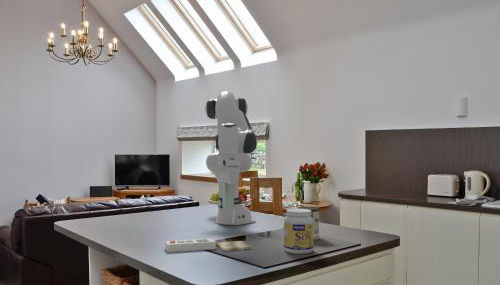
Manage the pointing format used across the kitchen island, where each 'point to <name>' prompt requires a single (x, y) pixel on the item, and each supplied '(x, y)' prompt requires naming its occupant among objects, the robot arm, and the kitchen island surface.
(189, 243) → the power strip
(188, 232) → the kitchen island surface
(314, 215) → the coffee can
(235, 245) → the coaster
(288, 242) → the supplement tub
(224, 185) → the grey-green tall block
